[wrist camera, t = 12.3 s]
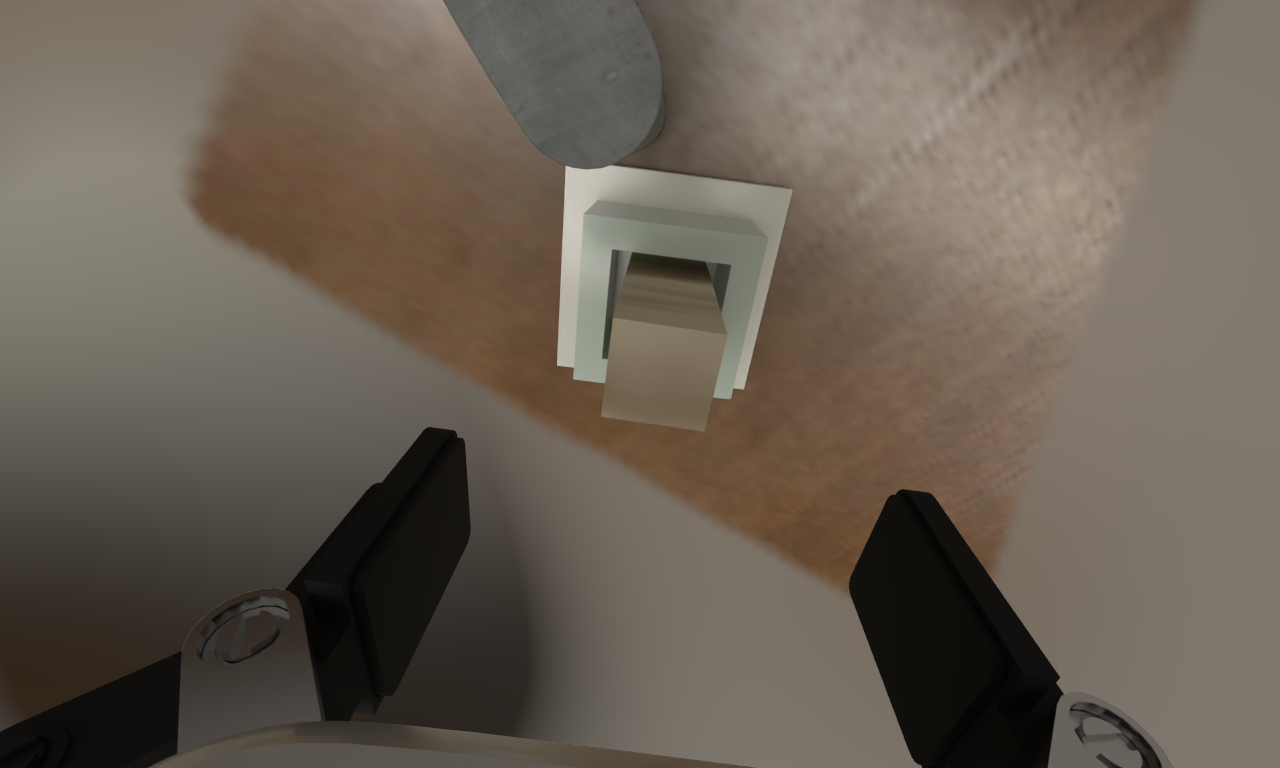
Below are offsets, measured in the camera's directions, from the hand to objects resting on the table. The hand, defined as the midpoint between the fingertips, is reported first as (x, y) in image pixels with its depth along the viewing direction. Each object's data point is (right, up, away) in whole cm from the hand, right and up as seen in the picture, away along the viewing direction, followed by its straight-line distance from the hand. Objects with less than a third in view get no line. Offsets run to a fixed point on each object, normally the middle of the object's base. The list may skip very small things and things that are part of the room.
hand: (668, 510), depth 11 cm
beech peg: (+1, +8, +18) cm, 20 cm away
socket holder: (+1, +9, +18) cm, 21 cm away
